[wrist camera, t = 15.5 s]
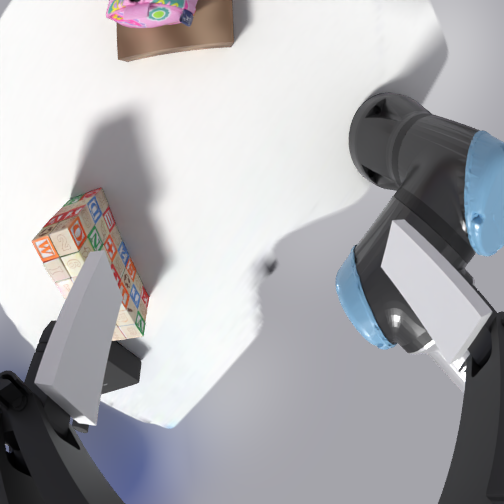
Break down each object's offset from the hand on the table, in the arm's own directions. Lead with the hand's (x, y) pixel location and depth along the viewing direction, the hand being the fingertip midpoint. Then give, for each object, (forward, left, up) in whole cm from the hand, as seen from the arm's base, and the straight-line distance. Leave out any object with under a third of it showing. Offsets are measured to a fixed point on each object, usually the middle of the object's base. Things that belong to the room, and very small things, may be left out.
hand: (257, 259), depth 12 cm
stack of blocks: (+20, +15, -27) cm, 37 cm away
